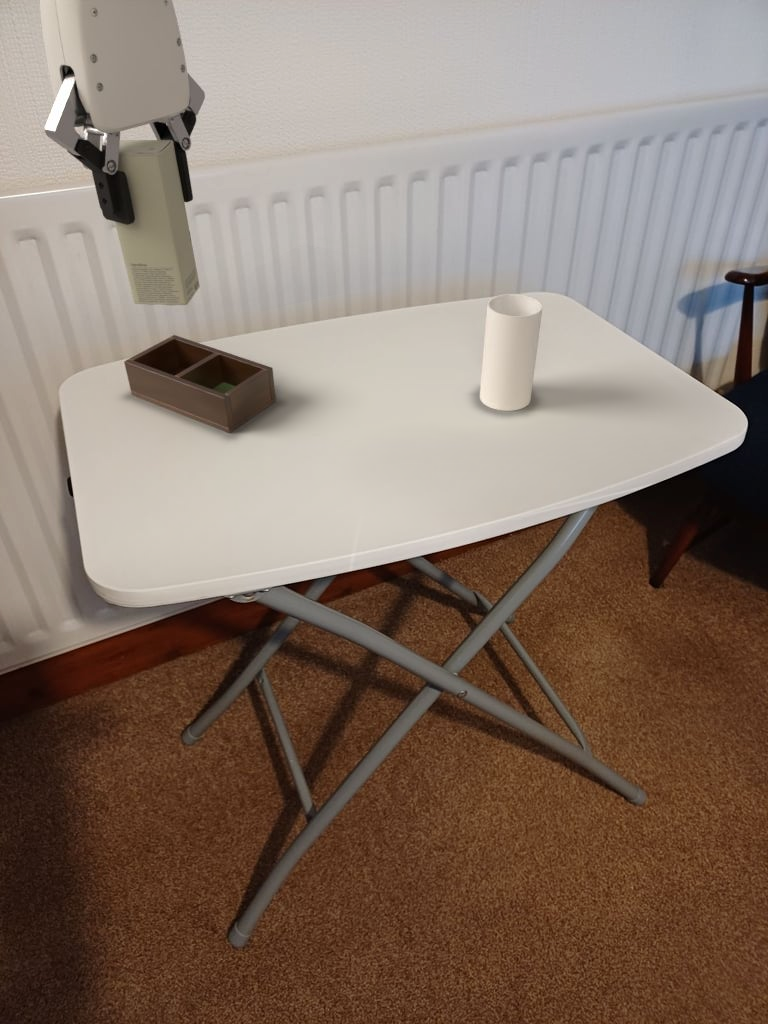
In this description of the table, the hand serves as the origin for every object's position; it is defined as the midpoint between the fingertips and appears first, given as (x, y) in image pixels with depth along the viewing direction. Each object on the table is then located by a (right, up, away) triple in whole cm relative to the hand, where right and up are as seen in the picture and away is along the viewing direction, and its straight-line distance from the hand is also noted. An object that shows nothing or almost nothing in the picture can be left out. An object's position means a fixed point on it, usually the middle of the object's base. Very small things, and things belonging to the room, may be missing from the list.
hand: (149, 207), depth 66 cm
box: (0, -6, +5) cm, 8 cm away
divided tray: (-2, -12, +30) cm, 32 cm away
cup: (+35, -12, +30) cm, 47 cm away
